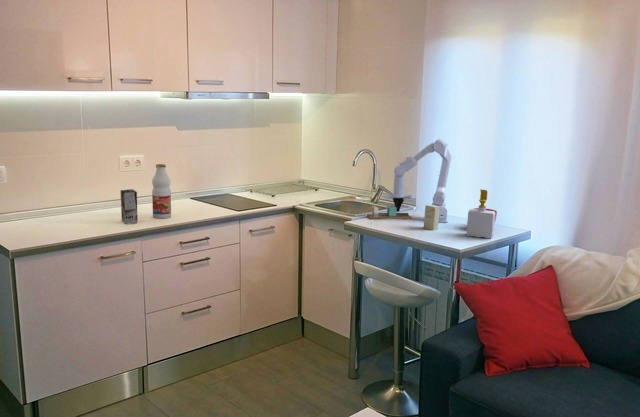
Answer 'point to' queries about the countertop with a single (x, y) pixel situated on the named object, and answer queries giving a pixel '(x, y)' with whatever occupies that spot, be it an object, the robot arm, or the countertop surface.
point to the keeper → (391, 210)
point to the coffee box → (129, 206)
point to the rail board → (386, 215)
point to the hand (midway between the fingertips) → (397, 211)
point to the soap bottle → (481, 219)
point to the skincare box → (431, 217)
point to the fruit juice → (161, 193)
